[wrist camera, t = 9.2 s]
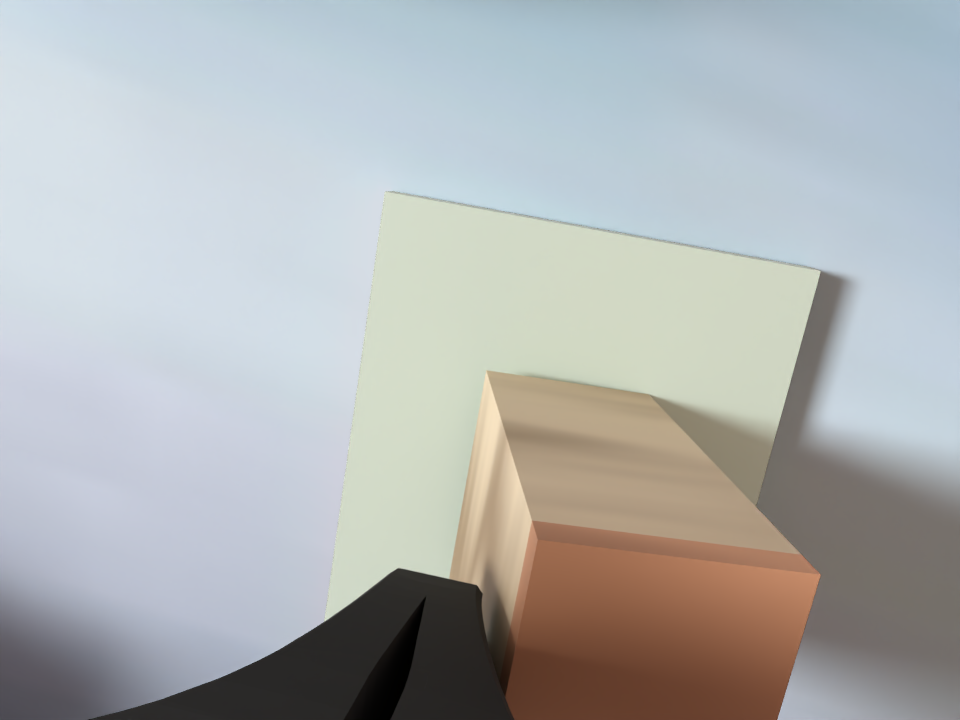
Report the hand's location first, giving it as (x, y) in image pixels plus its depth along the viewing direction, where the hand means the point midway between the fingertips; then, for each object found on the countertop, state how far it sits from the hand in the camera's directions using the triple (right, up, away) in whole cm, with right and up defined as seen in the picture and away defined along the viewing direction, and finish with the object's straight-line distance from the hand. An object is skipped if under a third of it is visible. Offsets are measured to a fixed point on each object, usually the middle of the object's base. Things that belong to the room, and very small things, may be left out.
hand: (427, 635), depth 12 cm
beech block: (+2, +1, +5) cm, 6 cm away
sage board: (+2, +1, +7) cm, 7 cm away
